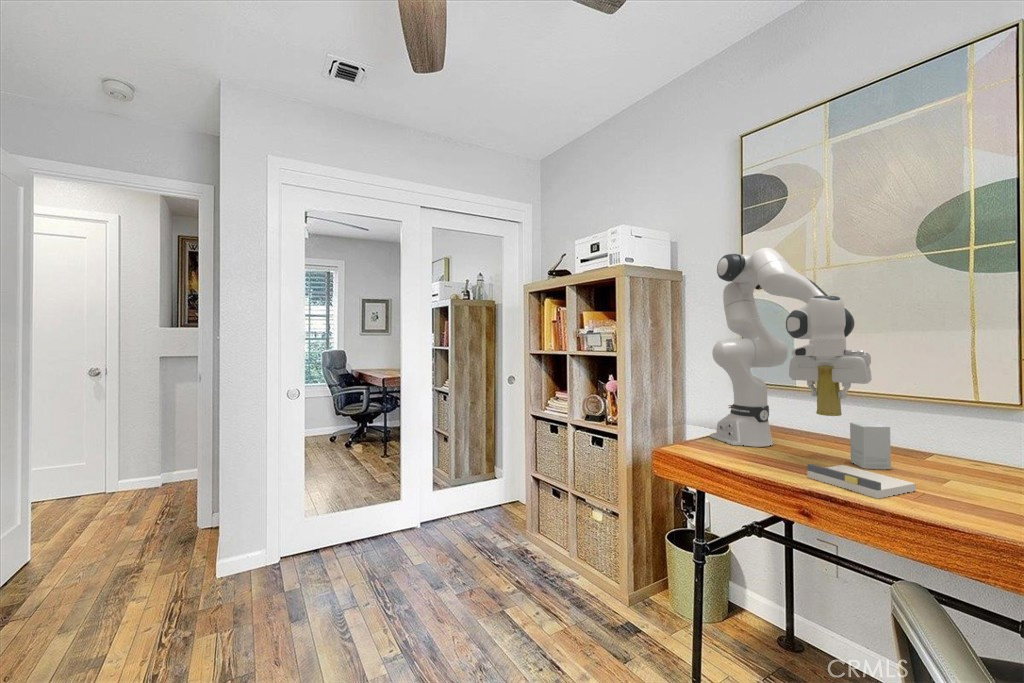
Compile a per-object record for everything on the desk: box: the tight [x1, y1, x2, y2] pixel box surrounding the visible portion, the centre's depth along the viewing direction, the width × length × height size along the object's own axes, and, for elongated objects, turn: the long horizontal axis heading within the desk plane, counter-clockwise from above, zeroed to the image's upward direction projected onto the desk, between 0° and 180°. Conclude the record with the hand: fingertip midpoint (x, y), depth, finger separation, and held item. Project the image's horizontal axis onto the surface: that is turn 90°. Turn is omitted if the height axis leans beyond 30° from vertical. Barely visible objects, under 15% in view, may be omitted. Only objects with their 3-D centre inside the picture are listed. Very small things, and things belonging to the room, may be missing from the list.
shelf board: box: [806, 463, 917, 500], centre depth 119 cm, size 18×14×4 cm
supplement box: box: [849, 422, 892, 470], centre depth 135 cm, size 7×7×13 cm
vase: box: [815, 366, 843, 417], centre depth 131 cm, size 6×6×14 cm
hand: (828, 397), depth 131 cm, fingers closed on vase, 5 cm apart
